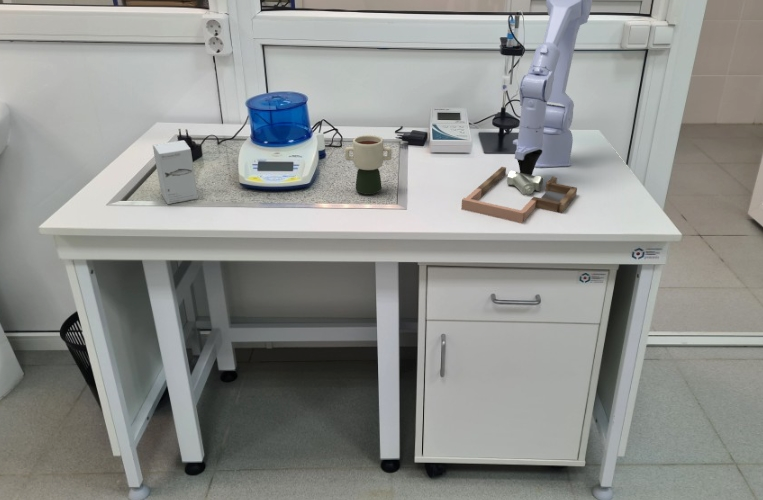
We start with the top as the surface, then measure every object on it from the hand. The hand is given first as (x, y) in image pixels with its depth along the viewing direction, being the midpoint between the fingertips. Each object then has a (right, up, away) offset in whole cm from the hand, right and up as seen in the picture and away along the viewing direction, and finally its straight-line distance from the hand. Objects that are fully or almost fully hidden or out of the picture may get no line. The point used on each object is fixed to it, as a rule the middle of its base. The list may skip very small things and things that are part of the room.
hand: (525, 178), depth 158 cm
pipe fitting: (-2, -3, -3) cm, 5 cm away
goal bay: (-9, -8, -13) cm, 17 cm away
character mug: (-39, -4, -4) cm, 39 cm away
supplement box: (-84, -5, -6) cm, 84 cm away
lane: (0, -4, -5) cm, 7 cm away
